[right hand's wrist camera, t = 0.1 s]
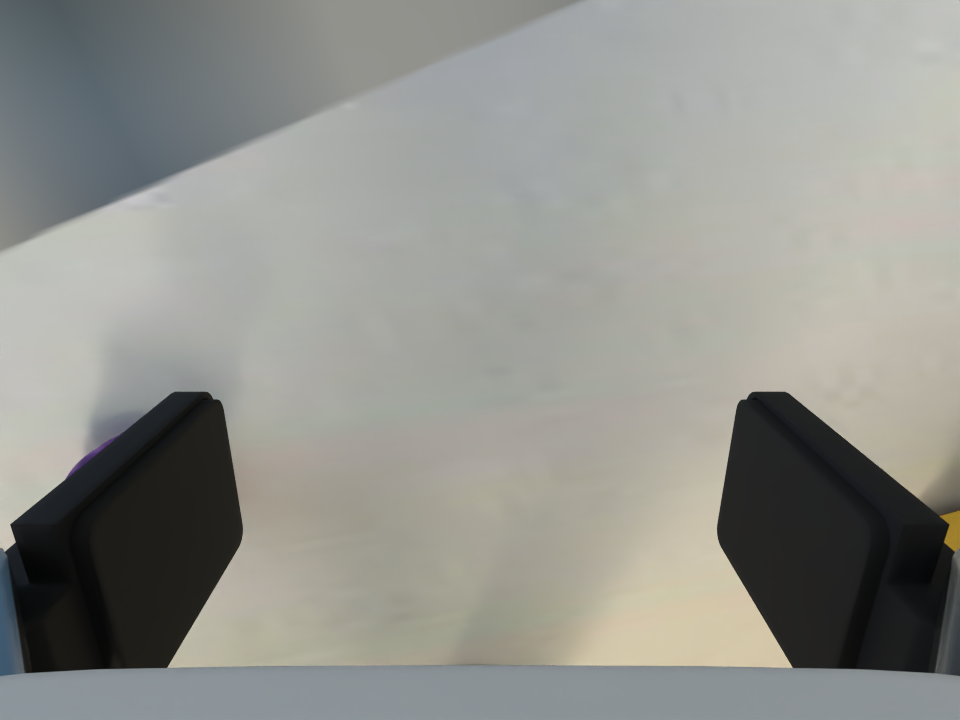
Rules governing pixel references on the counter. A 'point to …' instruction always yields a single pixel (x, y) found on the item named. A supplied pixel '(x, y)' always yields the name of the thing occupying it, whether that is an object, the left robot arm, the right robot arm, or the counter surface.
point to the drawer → (953, 530)
